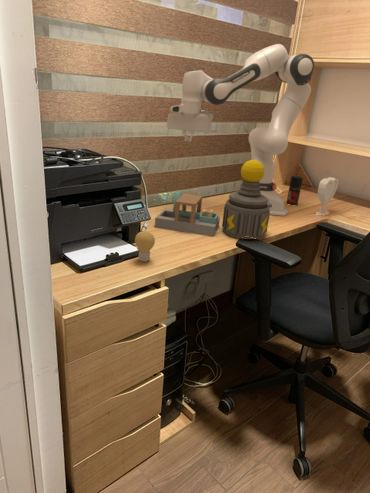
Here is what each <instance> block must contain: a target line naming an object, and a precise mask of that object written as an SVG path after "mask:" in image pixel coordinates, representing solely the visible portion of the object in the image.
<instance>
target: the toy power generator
mask: <svg viewBox="0 0 370 493" xmlns="http://www.w3.org/2000/svg"><path fill="white" fill-rule="evenodd" d="M264 172H265V171H264V167H263V165H262V163H260V162H259V161H257V160H252V159H250V160H247V161H245V162H244V163H243V165H241V169H240V176H241V178H242V183H241V184H240V188H238V190H236V191H234V192H231V193H229V196H228V199H227V200H226V201H225V205H224V207H223V214H222V215H223V216H222V224H221V227H222V231H223V232H224V234H226V235H227V236H229V237H231V238H235V239H237V238H238V239H239V240H241V239H240V238H242V237H245V236H249V237H253V238H256V239H257V240H260V239H262V238H264V237H265V235H266V233H267V231H268V226H269V221H270V220H269V219H270V210H269V208H270V206H269V205H268V204H267V203H268V198H267V197H266V196H264V195H262V194H261V192H260V191H259V190H260V186H259V185H260V182H259V181H260V180H261V179H262V178H263V176H264ZM238 239H237V240H238Z"/></svg>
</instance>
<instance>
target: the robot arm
mask: <svg viewBox="0 0 370 493" xmlns="http://www.w3.org/2000/svg"><path fill="white" fill-rule="evenodd" d="M314 70H315V61H314V59H313V57H312V56H310V55H308V54H306V53H299V54H294V55H289V53H288V51H287V48H286V47H285V46H284V45H283V44H281V43H276V44H272V45H270V46H266V47H264V48H262V49H259V50H258V51H256V52H255V53H253V54H251V55H250V56H249V57H248V58H246V59H245V61H244V65H243V67H242V68H241V69H240V70H238V71H236V72H235V73H233V74H231V75H230V76H227V77H224V78H212V77H211V76H209V75H208V74H207V73H205V72H204V71H203V69H199V68H196V69H188V70H186V71H185V72H184V74H183V78H182V83H181V84H182V86H181V93H182V97H181V101H180V104H177V105H173V106H171V107H170V108H169V110H170V112H169V113H168V115H167V121H166V127H167V129H168V130H176V131H177V130H178V131H182V134H183V136H184V142H189V143H190V142H192V138H193V136H194V135H195V133H205V134H206V133H207V134H210V133H211V132H212V123H213V120H214V113H213V112H212V111H211V110H203V109H202V108H201V107H202V101H204V102H206V103H210V104H212V105H215V106H219V105H223V104H225V102H226V101H227V100H228V99H229V98H230V97H231V96H232V94H233V93H235V92H236V91H238V90H240V89H242V88H243V87H245V86H247V85H248V84H250V83H253V82H257V81H260V80H262V79H265V78H266V77H267V78H268V76H270V75H272V74H274V73H275V76H276V77H277V79H278V80H279V81H280V82H282V83H285V84H287V87H286V90H285V92H284V93H283V95H281V97H280V99H279V101H278V102H277V103H276V105H275V107H274V109H273V110H272V112H271V119H270V123H269V125H268V127H264V126H259V127H255V128H253V129H251V131H250V132H249V135H248V143H249V146H250V153H251V160H257V161H259V162H260V163H262V165H263V167H264V171H265V172H264V176H263V178H262V179H261V180H260V181H259V182H260V185H259V186H260V190H259V191H260V192H261V194H262V195H264V196H266V197H267V198H268V203H267V204H268V205H269V206H270V208H269V210H270V215H271V216H281V217H282V216H283V217H284V216H285V217H286V216H287V215H288V212H289V211H288V208H286V207H285V201H284V198H283V196H281V195H280V194H279V193H278V192H277V187H278V186H277V184H276V183H275V182H273V181H274V180H273V179H274V176H275V174H274V173H275V169H276V168H275V166H276V165H275V163H274V160H273V155H275V156H276V155H281V154H283V153H285V151H286V149H287V148H288V145H289V139H288V138H289V134H290V131H291V129H292V126H293V124H294V123H295V121H296V120H297V118H298V116H299V115H300V113H301V112H302V110H303V108H304V107H305V106H306V103H307V102H308V100H309V97H310V95H311V92H312V88H311V85H310V84H309V82H310V81H311V80H312V75H313V73H314ZM188 132H190V136H187V133H188ZM270 215H269V216H270Z"/></svg>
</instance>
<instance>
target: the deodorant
mask: <svg viewBox="0 0 370 493" xmlns="http://www.w3.org/2000/svg"><path fill="white" fill-rule="evenodd" d="M303 179H304V177H303V176H299V175H291V177H290V181H289V182H290V183H289V188H288V193H287V197H286V198H287V199H286V203H287V204H290V205H297V206H298V203H299V199H300V195H301V190H302V184H303ZM287 204H286V205H287ZM290 205H289V206H290Z"/></svg>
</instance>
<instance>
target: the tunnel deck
mask: <svg viewBox="0 0 370 493" xmlns="http://www.w3.org/2000/svg"><path fill="white" fill-rule="evenodd" d="M202 202H203V195H198V194H192V193H187V192H186V193H183V194H182V195H180V198H179V199H178V200H177V201H176V204H175V215H173V208H172V209H171V208H164V209H163V210H162V211H161V212H159V213H158V215H156V216H155V219H154V221H155V222H154V227H155V228H160V229H165V230H171V231H178V232H182V233H183V232H185V233H191V234H196V235H197V234H198V235H203V236H210V237H214V236H215V234H216V232H217V231H218V228H219V227H220V222H221V221H220V220H221V217H220V216H219V215H218V219H217V221H216V223H211V222H204V221H199V218H195V212H196V213H202ZM187 207H191V210H190V212H191V217H185V216H179V212H180V210H182V211H187Z"/></svg>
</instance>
